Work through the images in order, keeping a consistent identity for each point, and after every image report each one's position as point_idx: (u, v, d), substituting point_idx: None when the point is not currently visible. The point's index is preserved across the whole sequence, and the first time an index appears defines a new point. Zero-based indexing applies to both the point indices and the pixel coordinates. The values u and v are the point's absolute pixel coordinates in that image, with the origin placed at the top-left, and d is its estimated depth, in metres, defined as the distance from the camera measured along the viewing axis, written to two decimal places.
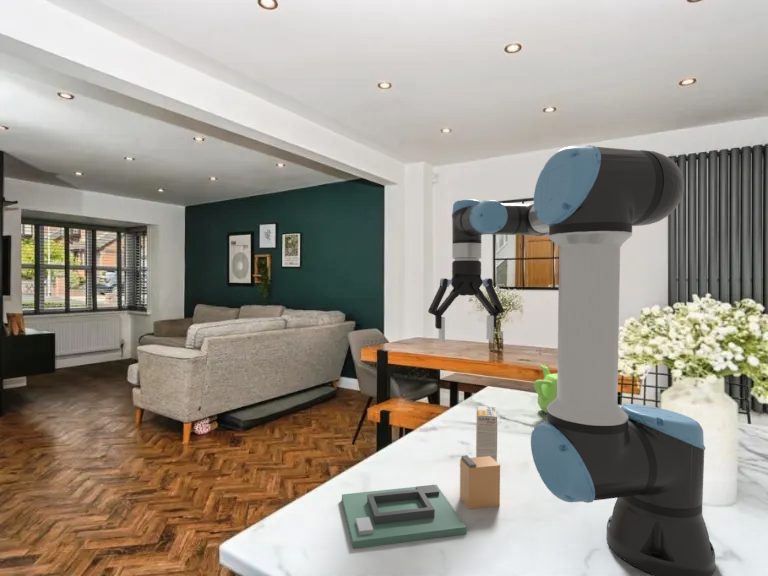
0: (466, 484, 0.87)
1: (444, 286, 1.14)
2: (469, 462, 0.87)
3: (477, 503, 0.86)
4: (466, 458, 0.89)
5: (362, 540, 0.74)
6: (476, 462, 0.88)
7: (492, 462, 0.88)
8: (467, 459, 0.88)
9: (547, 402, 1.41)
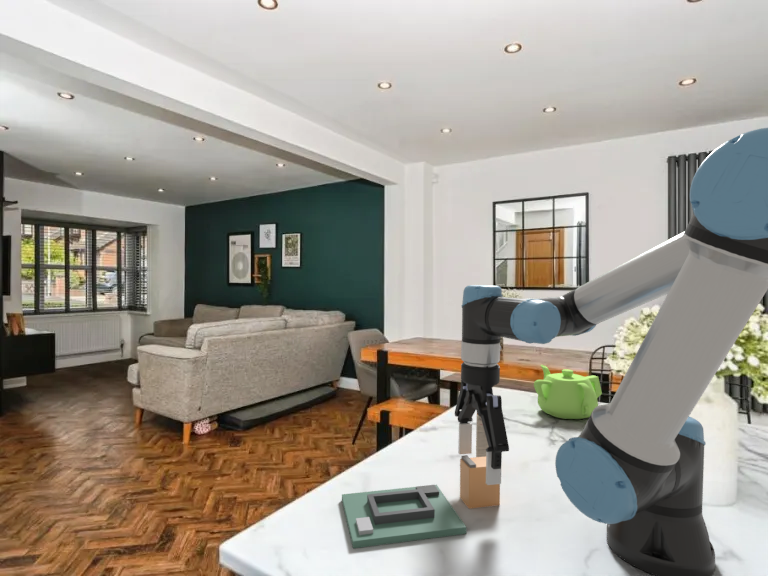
0: (466, 484, 0.87)
1: (461, 388, 0.94)
2: (469, 462, 0.87)
3: (477, 503, 0.86)
4: (466, 458, 0.89)
5: (362, 540, 0.74)
6: (476, 462, 0.88)
7: None
8: (467, 459, 0.88)
9: (547, 402, 1.41)
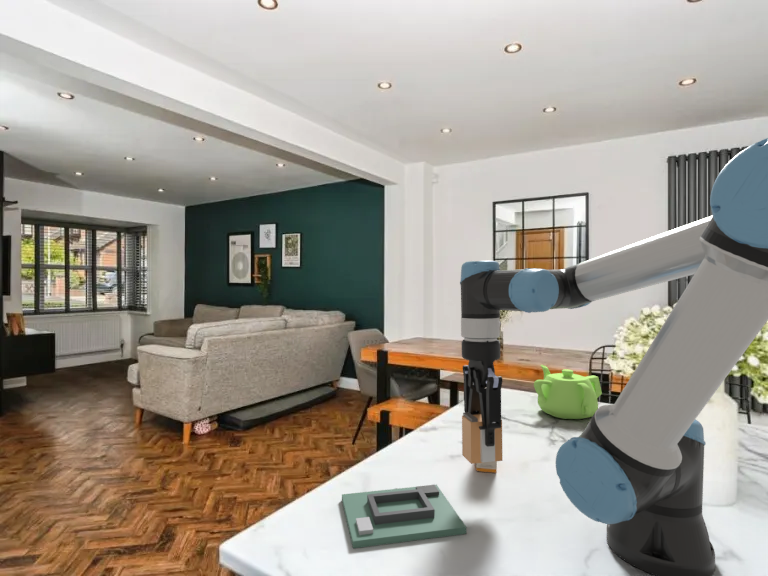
0: (468, 439, 0.86)
1: (464, 375, 0.93)
2: (471, 417, 0.86)
3: (479, 458, 0.86)
4: (468, 414, 0.88)
5: (362, 540, 0.74)
6: (478, 418, 0.88)
7: None
8: (469, 415, 0.88)
9: (547, 402, 1.41)
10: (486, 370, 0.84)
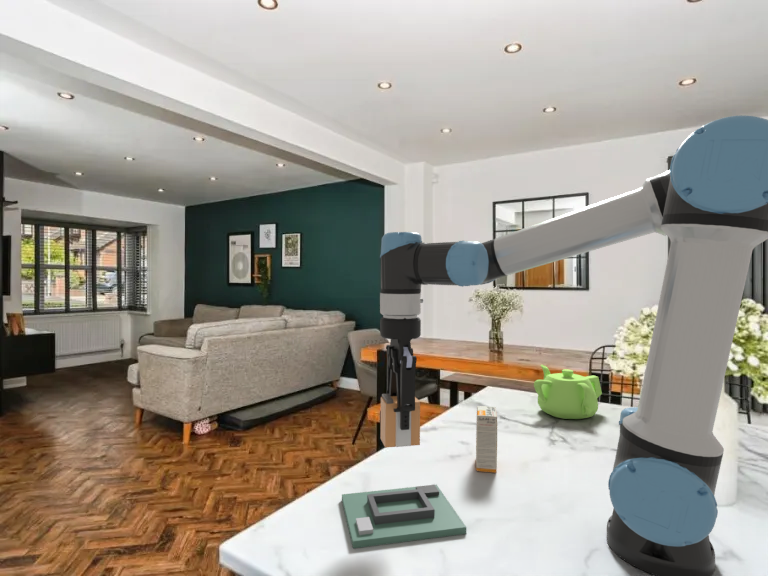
0: (384, 422, 0.81)
1: (387, 355, 0.88)
2: (387, 398, 0.81)
3: (394, 442, 0.81)
4: (386, 395, 0.83)
5: (362, 540, 0.74)
6: (396, 399, 0.82)
7: None
8: (386, 396, 0.82)
9: (547, 402, 1.41)
10: (401, 349, 0.78)
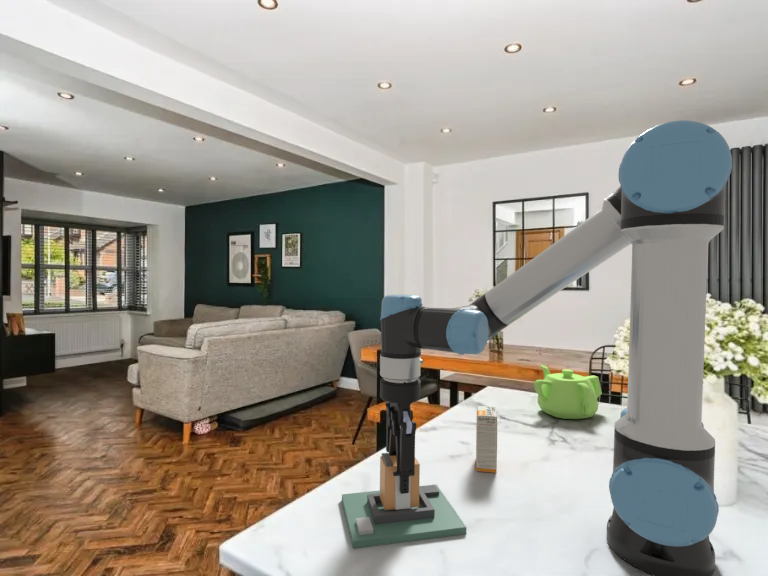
0: (383, 484, 0.81)
1: (386, 412, 0.88)
2: (386, 460, 0.81)
3: (394, 504, 0.81)
4: (385, 456, 0.83)
5: (362, 540, 0.74)
6: (396, 461, 0.83)
7: None
8: (386, 457, 0.83)
9: (547, 402, 1.41)
10: (401, 414, 0.78)
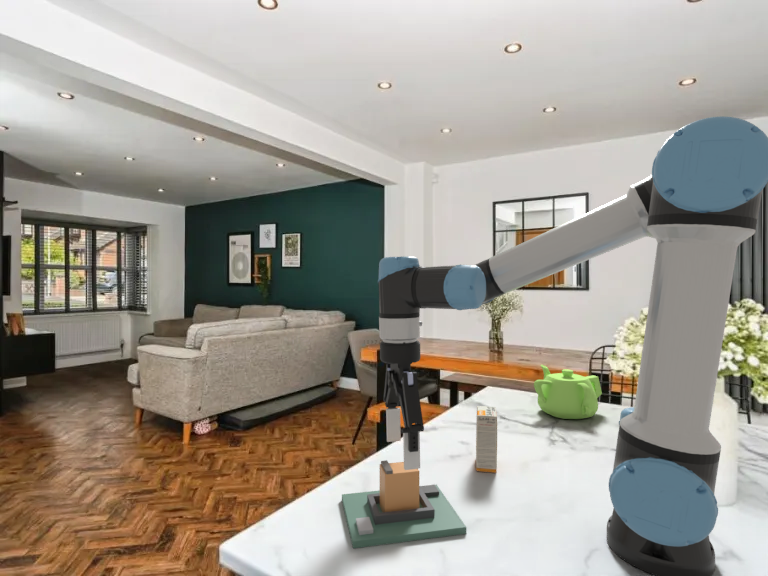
0: (383, 491, 0.81)
1: (386, 370, 0.89)
2: (386, 468, 0.81)
3: None
4: (385, 463, 0.83)
5: (362, 540, 0.74)
6: (395, 468, 0.83)
7: None
8: (385, 465, 0.83)
9: (547, 402, 1.41)
10: (401, 371, 0.78)
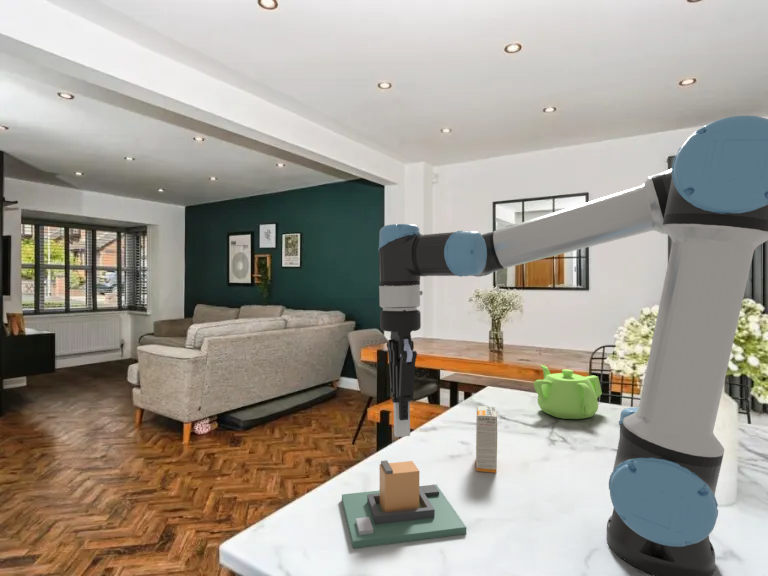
0: (383, 491, 0.81)
1: (388, 352, 0.87)
2: (386, 468, 0.81)
3: None
4: (385, 463, 0.83)
5: (362, 540, 0.74)
6: (395, 468, 0.83)
7: (412, 468, 0.83)
8: (385, 465, 0.83)
9: (547, 402, 1.41)
10: (402, 342, 0.78)
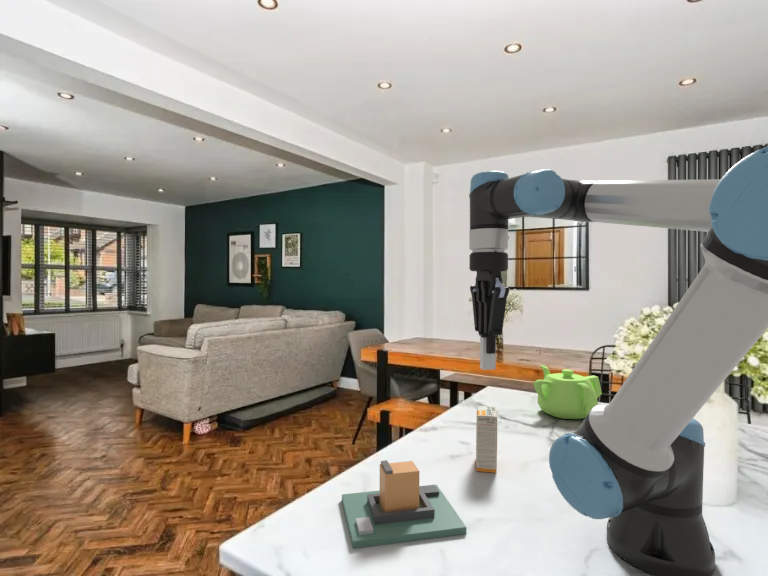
0: (383, 491, 0.81)
1: (472, 294, 0.94)
2: (386, 468, 0.81)
3: None
4: (385, 463, 0.83)
5: (362, 540, 0.74)
6: (395, 468, 0.83)
7: (412, 468, 0.83)
8: (385, 465, 0.83)
9: (547, 402, 1.41)
10: (494, 280, 0.85)
